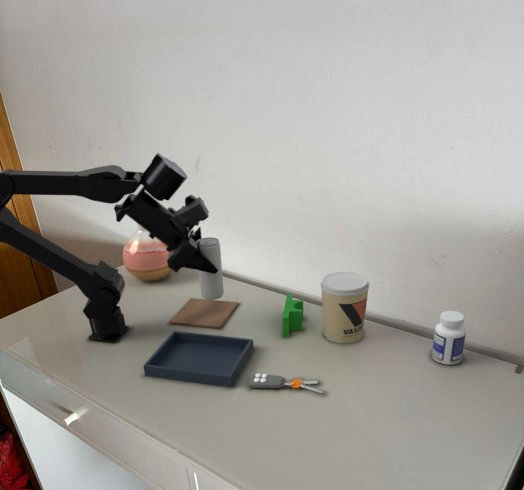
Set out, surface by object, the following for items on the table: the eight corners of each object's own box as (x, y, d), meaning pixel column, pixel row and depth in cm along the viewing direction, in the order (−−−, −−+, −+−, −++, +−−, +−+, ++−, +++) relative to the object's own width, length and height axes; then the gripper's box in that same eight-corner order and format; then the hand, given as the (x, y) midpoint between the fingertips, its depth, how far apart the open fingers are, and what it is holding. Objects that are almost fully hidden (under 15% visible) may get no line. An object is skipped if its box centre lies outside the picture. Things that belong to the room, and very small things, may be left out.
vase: (165, 263, 142) (155, 201, 133) (187, 278, 132) (178, 212, 123) (119, 276, 135) (106, 212, 126) (139, 292, 125) (125, 224, 116)
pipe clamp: (301, 337, 102) (301, 318, 100) (283, 337, 103) (282, 318, 100) (304, 311, 112) (303, 293, 109) (287, 311, 112) (286, 293, 110)
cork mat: (169, 323, 110) (169, 321, 110) (191, 300, 120) (191, 298, 120) (220, 328, 107) (219, 326, 107) (238, 304, 117) (238, 302, 116)
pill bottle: (460, 351, 94) (467, 310, 90) (462, 366, 90) (469, 324, 85) (431, 349, 96) (436, 307, 91) (431, 363, 91) (437, 321, 87)
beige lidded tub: (344, 351, 97) (346, 295, 91) (310, 333, 103) (310, 280, 97) (375, 334, 102) (379, 280, 96) (341, 318, 108) (343, 267, 102)
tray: (145, 375, 93) (143, 365, 92) (175, 340, 104) (173, 330, 103) (231, 387, 88) (230, 377, 87) (253, 349, 99) (253, 339, 98)
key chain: (248, 390, 87) (247, 383, 87) (252, 377, 90) (251, 371, 90) (322, 394, 85) (322, 387, 84) (324, 381, 88) (324, 374, 87)
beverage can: (198, 299, 103) (192, 244, 97) (205, 290, 107) (199, 236, 101) (220, 301, 102) (215, 245, 96) (226, 291, 106) (222, 237, 100)
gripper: (177, 199, 85) (245, 255, 91) (183, 175, 101) (240, 224, 107) (138, 246, 89) (206, 297, 95) (150, 215, 105) (207, 261, 111)
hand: (216, 267), depth 102 cm, fingers closed on beverage can, 5 cm apart
